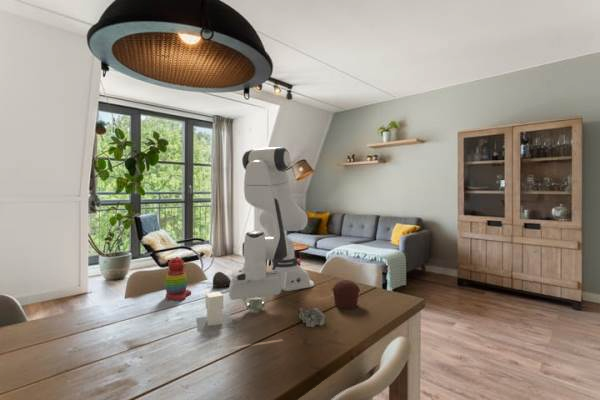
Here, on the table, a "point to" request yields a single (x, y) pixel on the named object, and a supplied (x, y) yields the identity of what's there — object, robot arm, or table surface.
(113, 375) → the table surface
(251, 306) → the drum
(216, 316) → the tower bottom
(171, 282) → the stacking bear
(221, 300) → the tower top
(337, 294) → the muffin
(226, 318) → the coaster
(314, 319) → the grey jagged lump
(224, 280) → the stone
